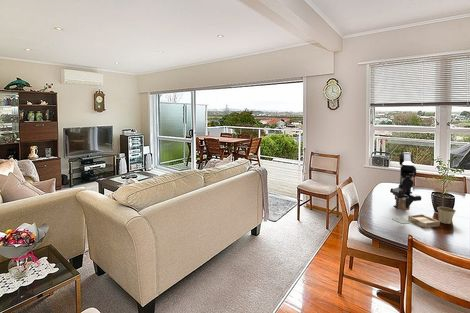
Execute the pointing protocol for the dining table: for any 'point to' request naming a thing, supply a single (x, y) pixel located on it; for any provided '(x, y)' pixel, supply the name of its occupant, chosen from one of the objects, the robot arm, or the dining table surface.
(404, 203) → the walnut block
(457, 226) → the dining table surface
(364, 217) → the dining table surface
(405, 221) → the pad
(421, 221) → the oak box
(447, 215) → the flower pot
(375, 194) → the dining table surface
